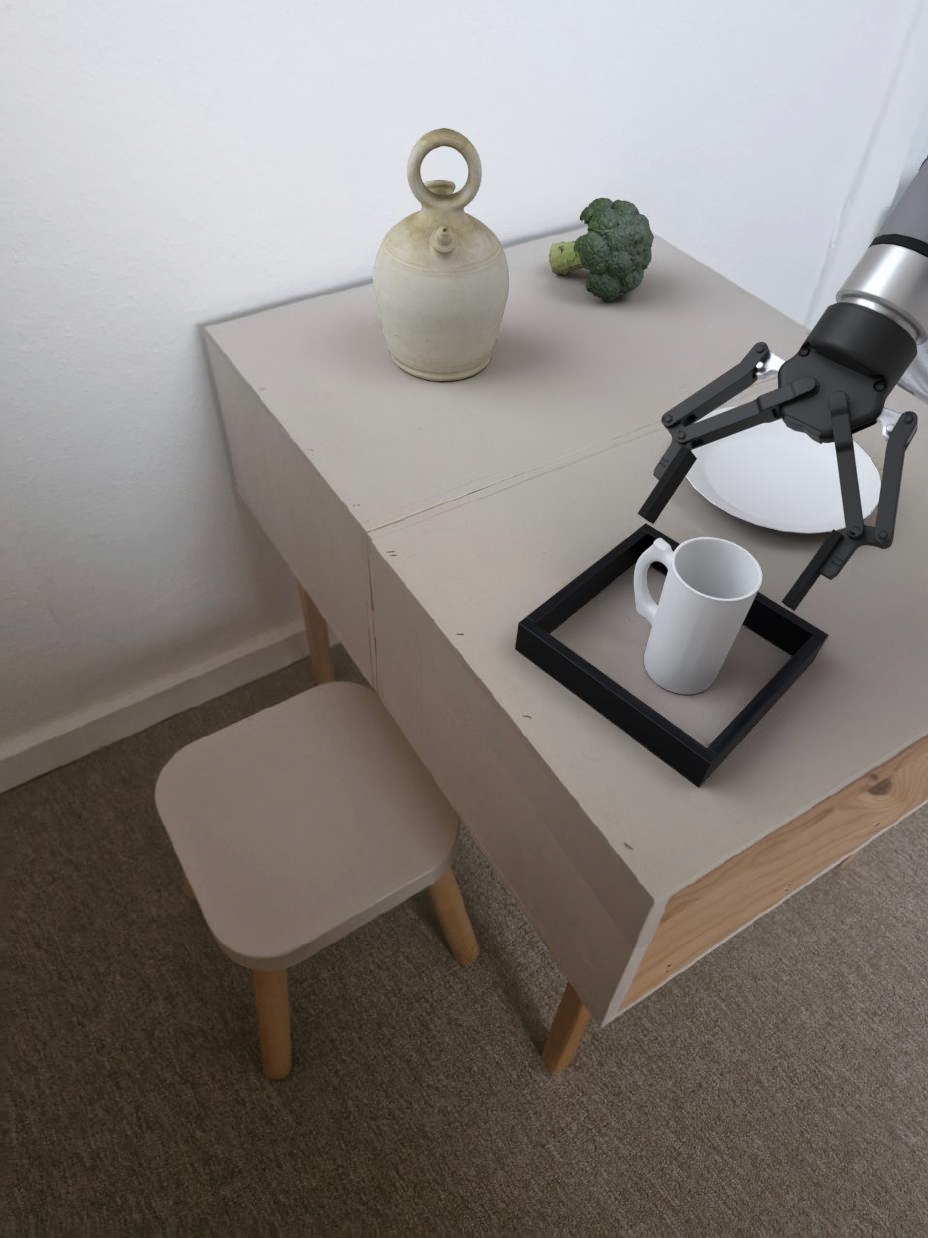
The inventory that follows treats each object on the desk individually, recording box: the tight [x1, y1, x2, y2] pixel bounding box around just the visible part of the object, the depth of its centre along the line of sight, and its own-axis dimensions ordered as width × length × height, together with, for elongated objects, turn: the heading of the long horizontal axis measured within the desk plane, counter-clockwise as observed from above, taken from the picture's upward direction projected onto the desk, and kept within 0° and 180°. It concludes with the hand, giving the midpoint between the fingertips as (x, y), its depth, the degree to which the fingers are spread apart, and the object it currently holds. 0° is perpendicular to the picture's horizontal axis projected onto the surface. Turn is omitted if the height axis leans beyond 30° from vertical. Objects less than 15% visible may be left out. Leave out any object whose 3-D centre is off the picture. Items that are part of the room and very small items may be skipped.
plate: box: [685, 406, 882, 535], centre depth 89 cm, size 21×21×2 cm
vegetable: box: [548, 197, 655, 302], centre depth 113 cm, size 12×13×15 cm
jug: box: [372, 127, 510, 382], centre depth 94 cm, size 15×16×25 cm
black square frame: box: [514, 522, 829, 788], centre depth 72 cm, size 19×18×4 cm
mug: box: [633, 536, 764, 696], centre depth 69 cm, size 10×7×12 cm, turn 41°
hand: (713, 561), depth 68 cm, fingers open, 13 cm apart
